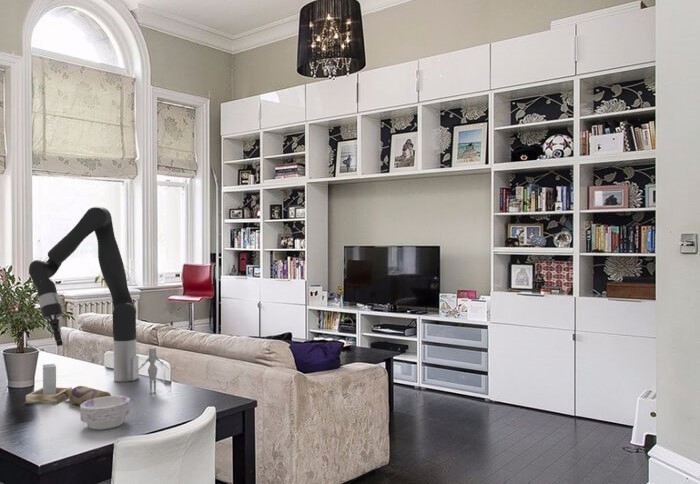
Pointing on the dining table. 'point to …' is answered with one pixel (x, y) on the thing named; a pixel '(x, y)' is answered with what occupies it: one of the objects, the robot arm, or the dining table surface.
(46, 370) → the skincare box
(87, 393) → the decorative bottle
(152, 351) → the human figurine
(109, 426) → the paper bowls
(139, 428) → the dining table surface
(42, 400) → the pocket tray
